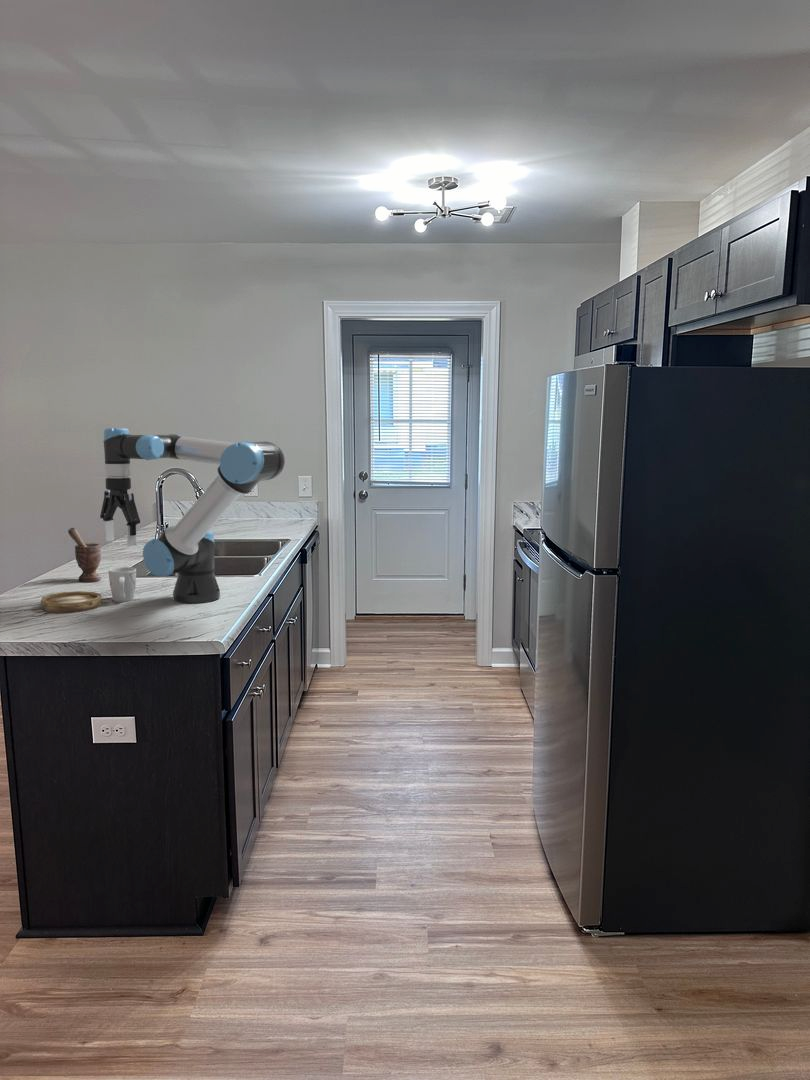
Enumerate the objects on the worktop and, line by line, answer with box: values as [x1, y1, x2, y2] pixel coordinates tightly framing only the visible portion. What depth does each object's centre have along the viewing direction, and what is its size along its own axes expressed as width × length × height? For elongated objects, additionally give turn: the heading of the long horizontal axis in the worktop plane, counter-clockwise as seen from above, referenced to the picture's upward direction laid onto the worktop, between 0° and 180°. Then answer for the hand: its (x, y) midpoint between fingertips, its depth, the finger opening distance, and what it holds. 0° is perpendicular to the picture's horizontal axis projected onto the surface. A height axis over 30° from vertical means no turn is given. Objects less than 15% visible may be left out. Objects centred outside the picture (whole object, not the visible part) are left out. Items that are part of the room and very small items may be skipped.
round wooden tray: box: [40, 590, 102, 614], centre depth 238 cm, size 17×17×3 cm
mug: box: [108, 566, 137, 603], centre depth 246 cm, size 11×8×10 cm
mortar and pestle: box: [67, 527, 102, 583], centre depth 272 cm, size 12×9×20 cm
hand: (120, 543), depth 245 cm, fingers open, 13 cm apart
